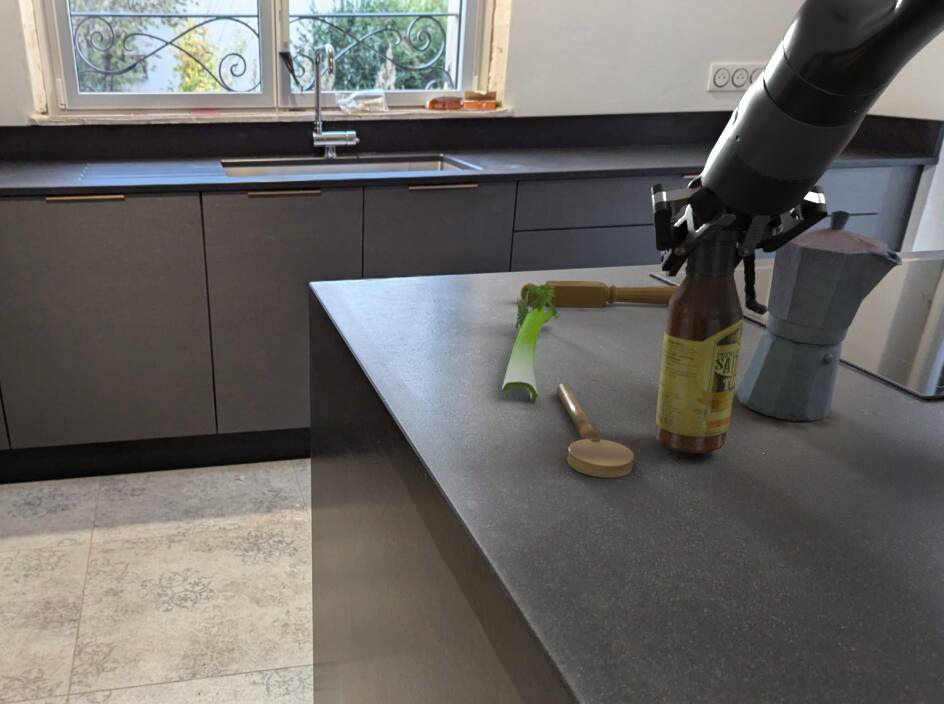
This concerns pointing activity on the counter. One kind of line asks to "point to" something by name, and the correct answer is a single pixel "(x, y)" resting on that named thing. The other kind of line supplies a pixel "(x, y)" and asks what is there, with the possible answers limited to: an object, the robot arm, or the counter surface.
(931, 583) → the counter surface
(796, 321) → the moka pot
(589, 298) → the tap handle
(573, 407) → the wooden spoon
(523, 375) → the celery stalk
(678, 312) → the sauce bottle
